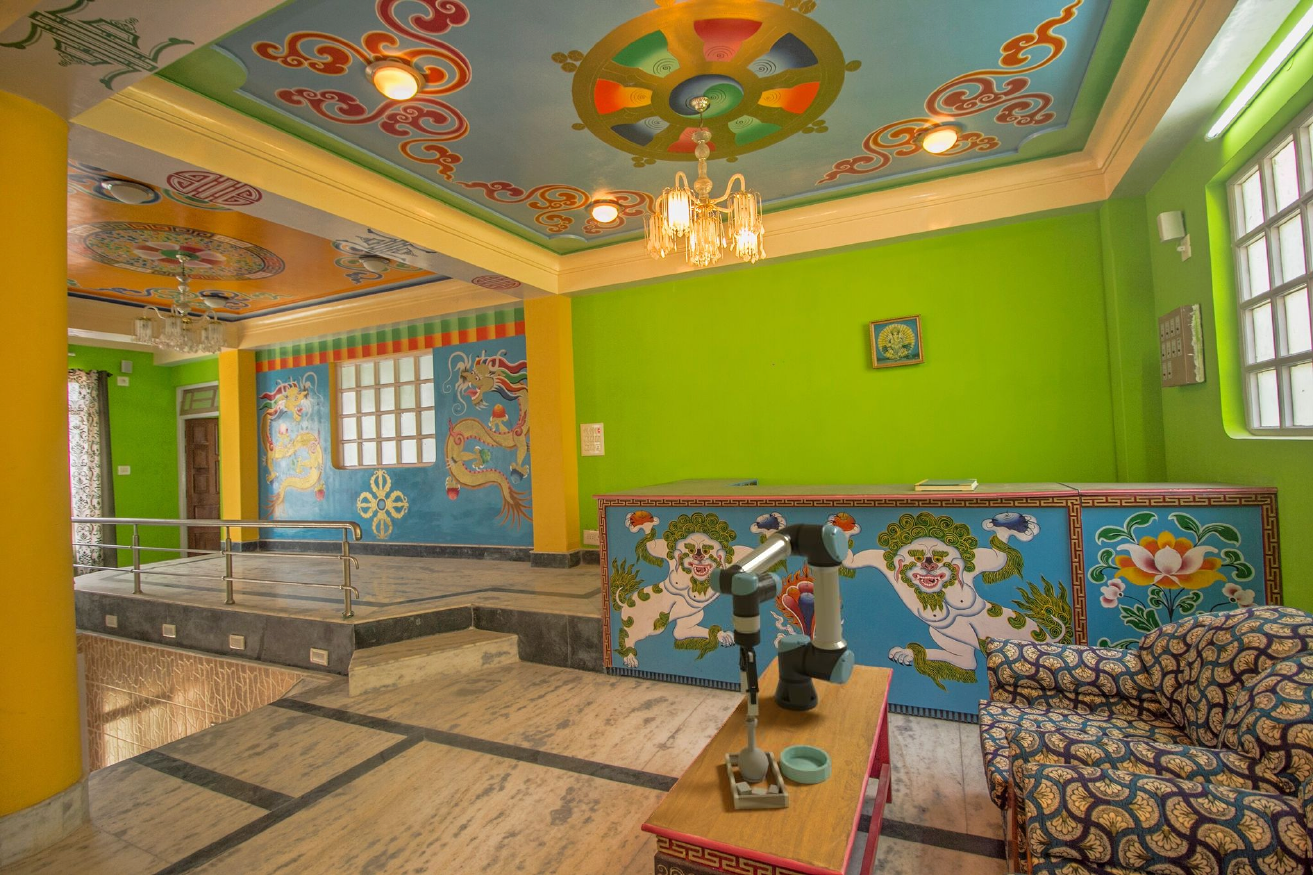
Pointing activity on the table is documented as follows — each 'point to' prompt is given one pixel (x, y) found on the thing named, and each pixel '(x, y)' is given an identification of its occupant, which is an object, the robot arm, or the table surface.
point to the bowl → (805, 764)
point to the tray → (762, 799)
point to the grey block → (743, 789)
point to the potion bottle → (752, 756)
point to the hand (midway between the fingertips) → (749, 704)
